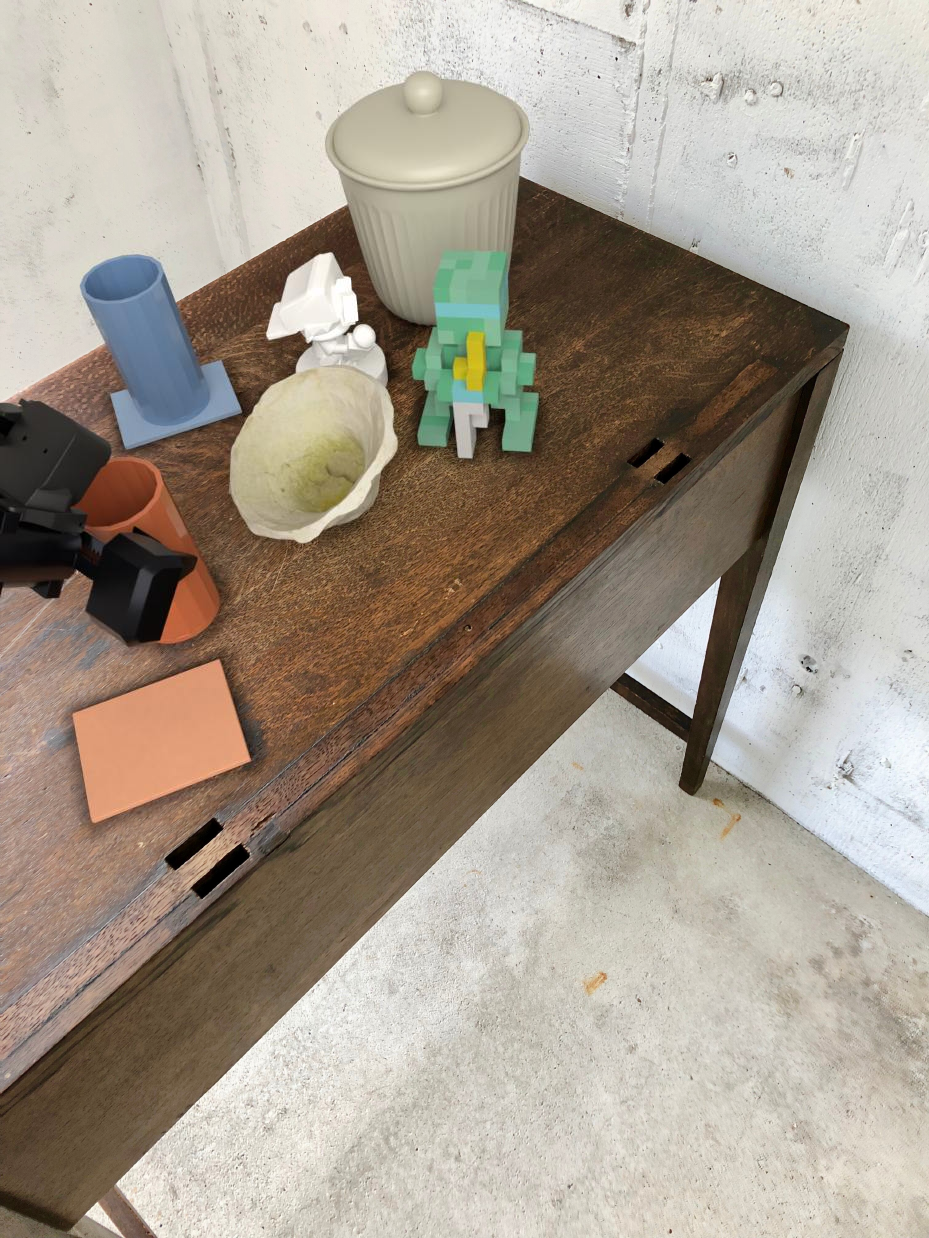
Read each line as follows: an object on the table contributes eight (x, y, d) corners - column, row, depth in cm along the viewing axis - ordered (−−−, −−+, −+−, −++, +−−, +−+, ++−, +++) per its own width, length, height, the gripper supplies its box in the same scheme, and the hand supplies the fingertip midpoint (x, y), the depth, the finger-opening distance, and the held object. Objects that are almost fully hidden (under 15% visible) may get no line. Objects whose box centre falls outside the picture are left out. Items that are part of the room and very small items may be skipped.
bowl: (212, 498, 76) (173, 408, 67) (347, 424, 80) (326, 331, 72) (301, 604, 68) (269, 518, 60) (445, 516, 73) (433, 425, 64)
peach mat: (94, 823, 59) (91, 820, 58) (75, 716, 64) (72, 713, 63) (251, 761, 61) (249, 758, 60) (221, 662, 66) (219, 658, 65)
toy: (416, 454, 77) (394, 307, 65) (435, 380, 83) (418, 231, 70) (529, 462, 76) (528, 312, 63) (541, 385, 81) (542, 234, 69)
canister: (320, 319, 89) (270, 100, 72) (417, 229, 98) (393, 14, 81) (471, 372, 83) (455, 146, 66) (561, 271, 91) (568, 48, 74)
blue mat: (126, 450, 80) (124, 446, 79) (112, 398, 84) (109, 394, 84) (242, 412, 82) (241, 408, 81) (222, 363, 86) (220, 359, 86)
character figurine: (383, 412, 81) (362, 298, 71) (282, 414, 81) (247, 301, 72) (391, 351, 86) (373, 236, 76) (296, 353, 86) (266, 240, 77)
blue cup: (145, 434, 80) (86, 312, 70) (132, 391, 84) (74, 268, 73) (217, 411, 81) (170, 288, 71) (201, 369, 85) (154, 246, 75)
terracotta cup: (142, 656, 66) (66, 544, 56) (127, 592, 70) (54, 476, 60) (229, 624, 67) (171, 509, 57) (210, 563, 71) (152, 444, 61)
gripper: (92, 472, 45) (288, 489, 58) (-111, 350, 52) (107, 391, 65) (40, 664, 48) (238, 637, 61) (-145, 524, 55) (70, 528, 68)
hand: (161, 541), depth 64 cm, fingers closed on terracotta cup, 7 cm apart
